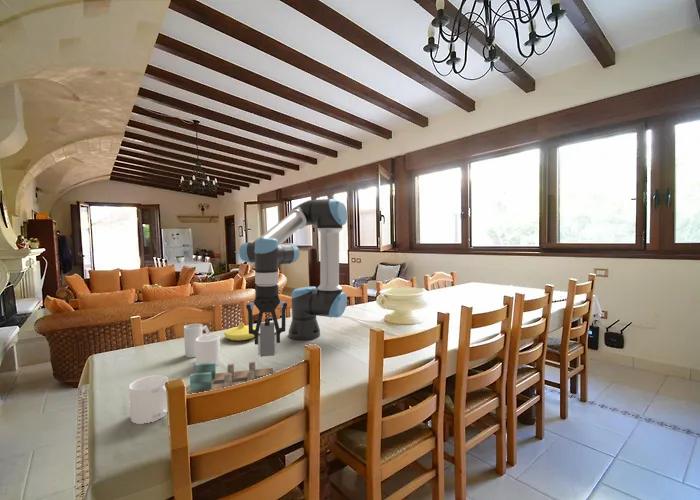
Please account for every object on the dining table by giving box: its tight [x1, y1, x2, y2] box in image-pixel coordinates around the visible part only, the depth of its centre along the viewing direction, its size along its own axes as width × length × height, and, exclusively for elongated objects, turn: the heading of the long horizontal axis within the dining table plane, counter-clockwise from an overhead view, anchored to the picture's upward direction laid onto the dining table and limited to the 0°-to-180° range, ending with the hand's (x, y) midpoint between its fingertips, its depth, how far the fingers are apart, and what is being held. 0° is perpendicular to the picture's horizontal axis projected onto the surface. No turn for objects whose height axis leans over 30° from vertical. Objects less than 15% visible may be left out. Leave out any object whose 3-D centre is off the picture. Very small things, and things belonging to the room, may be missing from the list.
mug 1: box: [128, 374, 169, 425], centre depth 89 cm, size 12×9×9 cm
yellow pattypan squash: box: [223, 322, 256, 342], centre depth 153 cm, size 16×16×7 cm
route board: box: [185, 361, 274, 394], centre depth 108 cm, size 26×14×6 cm, turn 104°
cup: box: [195, 334, 221, 367], centre depth 125 cm, size 8×12×10 cm
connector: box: [259, 317, 275, 357], centre depth 110 cm, size 4×4×12 cm
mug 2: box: [183, 323, 211, 359], centre depth 134 cm, size 10×7×12 cm, turn 139°
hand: (267, 352), depth 110 cm, fingers closed on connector, 4 cm apart
